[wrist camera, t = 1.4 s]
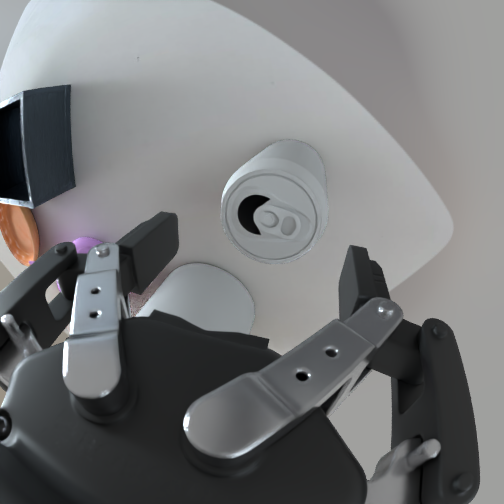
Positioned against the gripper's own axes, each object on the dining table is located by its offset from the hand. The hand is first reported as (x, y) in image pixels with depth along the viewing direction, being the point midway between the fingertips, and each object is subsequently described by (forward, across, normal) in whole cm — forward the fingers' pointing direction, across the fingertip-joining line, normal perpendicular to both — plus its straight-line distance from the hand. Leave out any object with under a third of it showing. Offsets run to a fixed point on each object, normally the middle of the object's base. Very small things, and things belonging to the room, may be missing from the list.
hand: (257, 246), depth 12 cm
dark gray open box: (+15, +36, -3) cm, 39 cm away
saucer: (+15, +49, +13) cm, 53 cm away
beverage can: (+15, 0, 0) cm, 15 cm away
